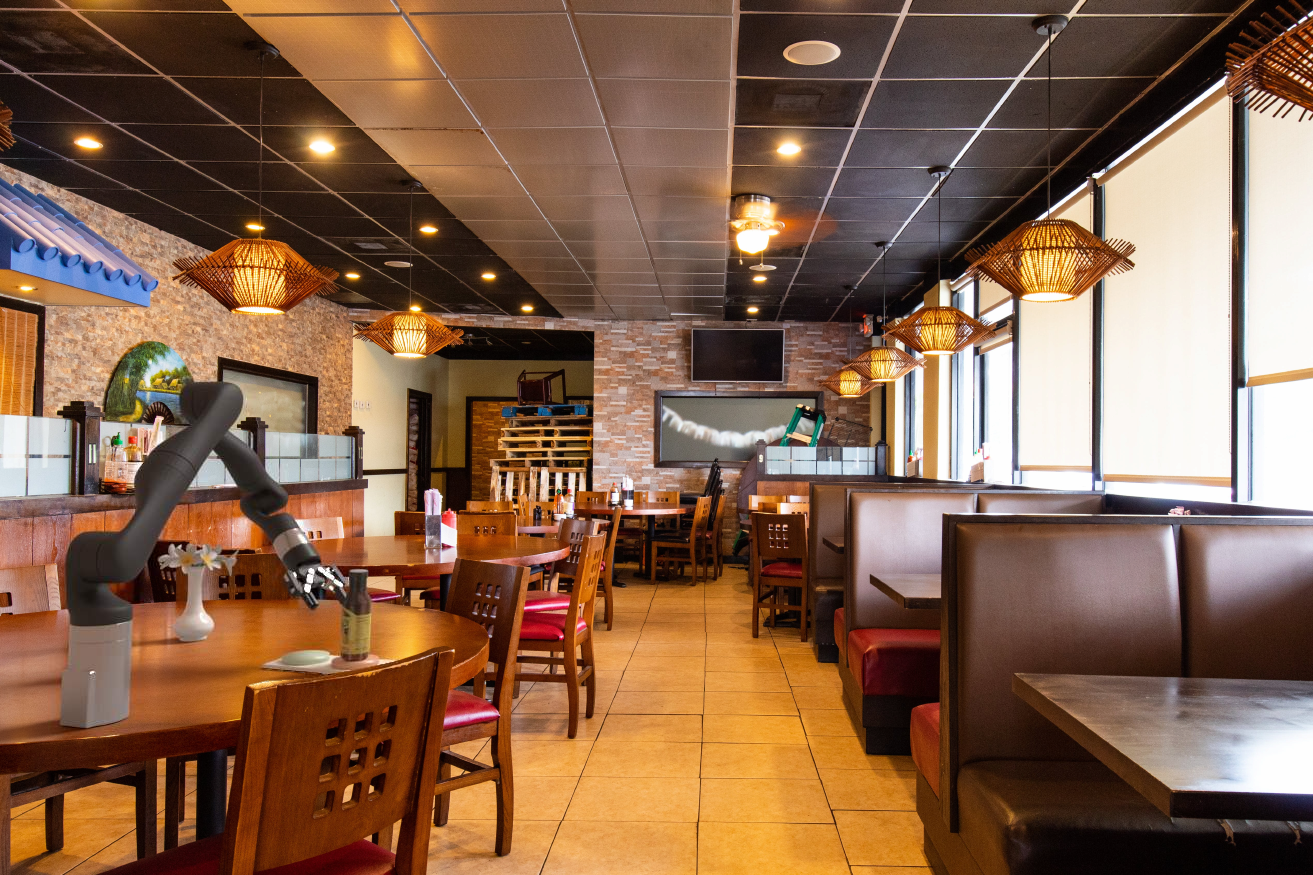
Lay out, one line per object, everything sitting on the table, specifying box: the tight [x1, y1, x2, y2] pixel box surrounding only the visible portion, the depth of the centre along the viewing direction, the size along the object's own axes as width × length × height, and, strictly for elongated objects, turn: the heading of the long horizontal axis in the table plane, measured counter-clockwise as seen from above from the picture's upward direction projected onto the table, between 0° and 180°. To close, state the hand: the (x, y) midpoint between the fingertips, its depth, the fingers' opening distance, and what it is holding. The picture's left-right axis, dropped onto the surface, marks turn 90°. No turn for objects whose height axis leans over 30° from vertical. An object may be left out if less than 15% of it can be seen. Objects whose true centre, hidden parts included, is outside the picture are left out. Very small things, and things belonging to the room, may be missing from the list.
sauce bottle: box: [340, 568, 372, 661], centre depth 181 cm, size 7×6×20 cm
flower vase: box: [157, 542, 240, 643], centre depth 211 cm, size 13×18×25 cm
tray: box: [262, 649, 397, 675], centre depth 183 cm, size 12×26×2 cm, turn 75°
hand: (330, 605), depth 185 cm, fingers open, 8 cm apart
